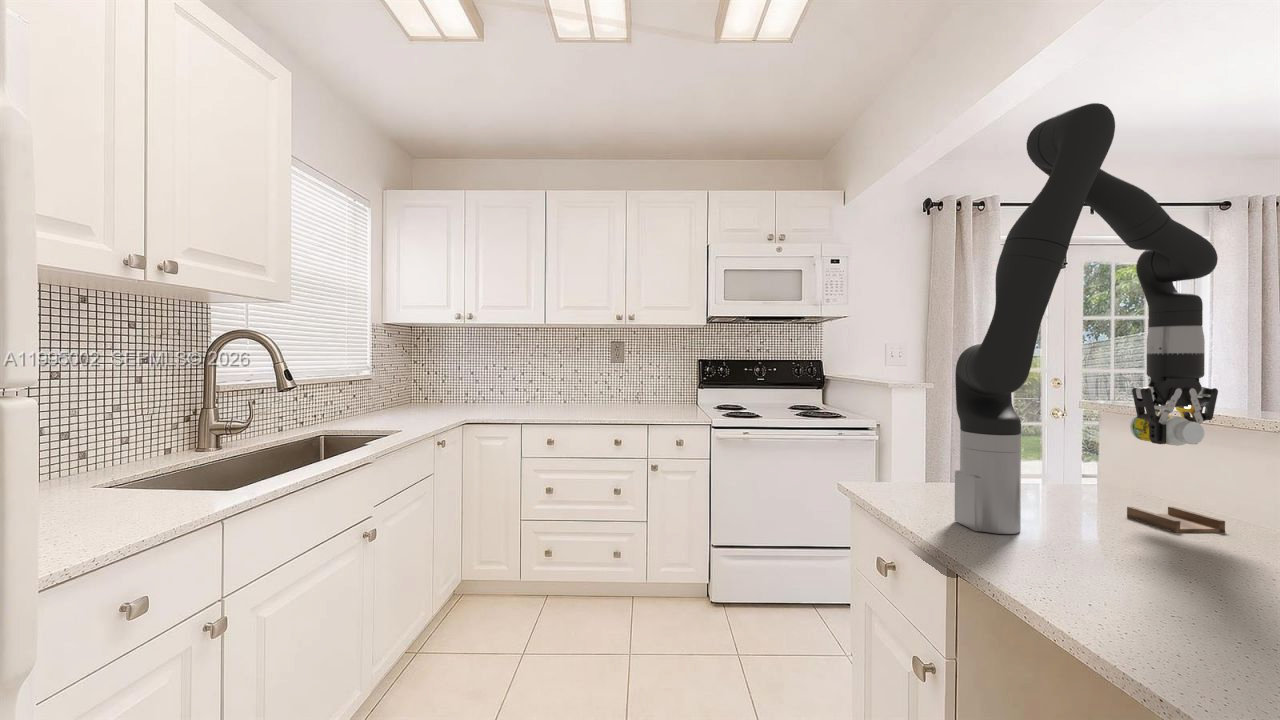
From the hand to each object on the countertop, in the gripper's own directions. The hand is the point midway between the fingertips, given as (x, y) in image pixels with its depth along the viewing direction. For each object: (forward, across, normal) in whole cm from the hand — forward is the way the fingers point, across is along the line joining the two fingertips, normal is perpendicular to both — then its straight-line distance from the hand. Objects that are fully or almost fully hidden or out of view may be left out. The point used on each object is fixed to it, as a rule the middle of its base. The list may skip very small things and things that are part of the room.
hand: (1174, 443), depth 98 cm
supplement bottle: (-2, 0, +6) cm, 7 cm away
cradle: (+15, 0, 0) cm, 15 cm away
